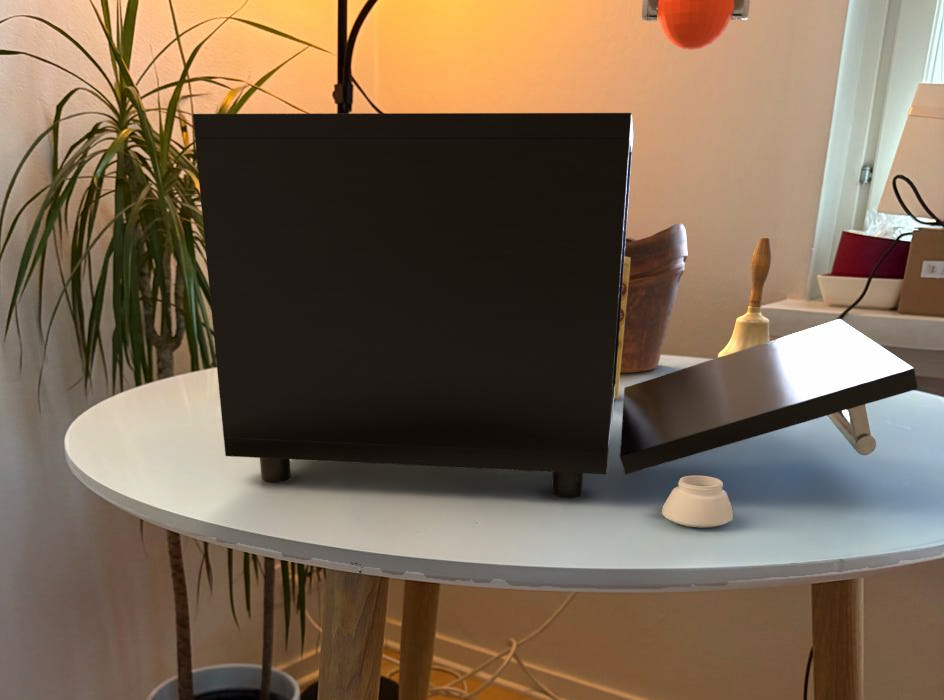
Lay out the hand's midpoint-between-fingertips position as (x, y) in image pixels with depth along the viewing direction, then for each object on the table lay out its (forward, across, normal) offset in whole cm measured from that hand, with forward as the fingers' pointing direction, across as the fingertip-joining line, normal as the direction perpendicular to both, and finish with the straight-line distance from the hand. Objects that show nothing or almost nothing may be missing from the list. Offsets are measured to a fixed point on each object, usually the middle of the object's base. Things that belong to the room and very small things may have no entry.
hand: (694, 19), depth 92 cm
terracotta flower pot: (+36, -7, +28) cm, 46 cm away
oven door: (+36, -2, -22) cm, 42 cm away
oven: (+36, -20, -22) cm, 47 cm away
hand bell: (+36, +13, +39) cm, 55 cm away
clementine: (+3, 0, 0) cm, 3 cm away
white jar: (+36, +2, -39) cm, 53 cm away
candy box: (+36, -8, +8) cm, 38 cm away
